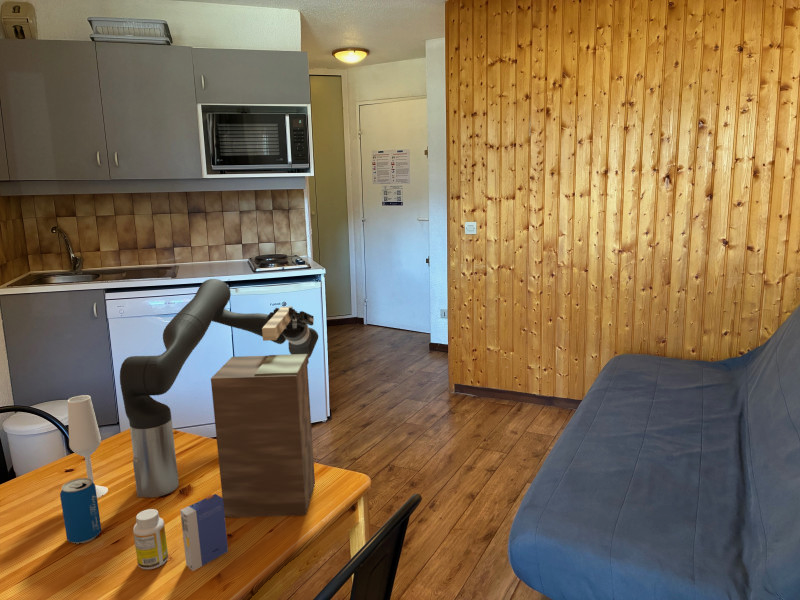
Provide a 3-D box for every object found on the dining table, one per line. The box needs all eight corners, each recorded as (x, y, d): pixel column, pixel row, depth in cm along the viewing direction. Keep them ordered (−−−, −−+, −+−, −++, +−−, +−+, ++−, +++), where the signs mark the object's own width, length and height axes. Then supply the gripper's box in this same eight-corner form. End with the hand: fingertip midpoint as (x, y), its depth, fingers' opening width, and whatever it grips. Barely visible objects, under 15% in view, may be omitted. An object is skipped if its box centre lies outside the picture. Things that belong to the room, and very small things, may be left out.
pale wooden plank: (282, 317, 162) (281, 306, 161) (293, 317, 162) (292, 306, 161) (263, 340, 138) (262, 328, 138) (275, 340, 138) (274, 327, 138)
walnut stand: (243, 481, 146) (231, 355, 140) (316, 479, 146) (307, 352, 140) (224, 517, 130) (210, 376, 124) (306, 515, 130) (296, 373, 124)
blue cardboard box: (220, 546, 120) (215, 492, 118) (228, 551, 118) (222, 496, 116) (184, 565, 114) (178, 508, 112) (192, 571, 112) (185, 513, 110)
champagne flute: (75, 503, 139) (61, 405, 134) (78, 490, 145) (64, 396, 140) (107, 496, 141) (94, 400, 137) (108, 483, 147) (95, 392, 143)
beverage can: (87, 547, 121) (79, 493, 119) (60, 544, 122) (51, 491, 120) (108, 529, 127) (101, 477, 125) (82, 527, 129) (74, 475, 126)
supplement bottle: (159, 549, 119) (153, 503, 117) (174, 560, 116) (168, 512, 114) (132, 563, 115) (126, 515, 113) (146, 575, 112) (140, 525, 110)
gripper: (271, 317, 173) (257, 298, 157) (319, 316, 173) (310, 296, 157) (270, 342, 171) (255, 325, 155) (318, 340, 171) (309, 323, 155)
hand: (283, 311), depth 156 cm, fingers closed on pale wooden plank, 3 cm apart
